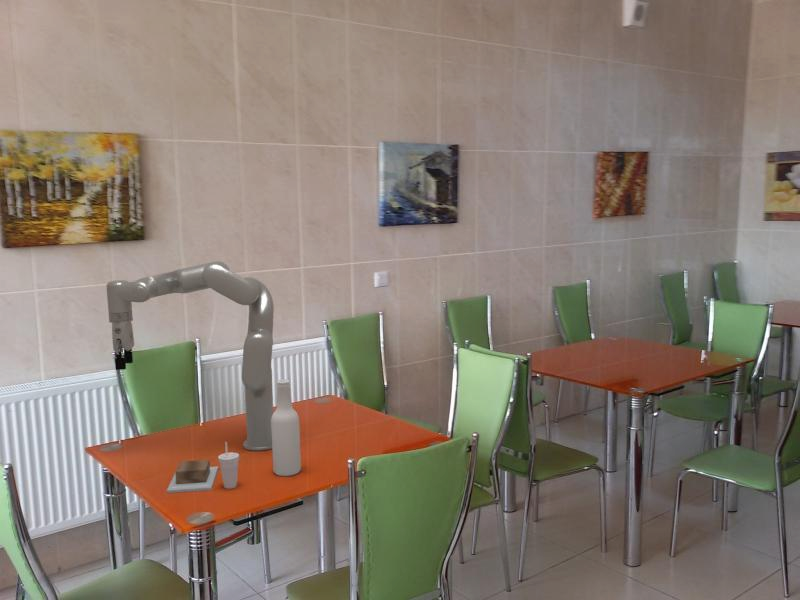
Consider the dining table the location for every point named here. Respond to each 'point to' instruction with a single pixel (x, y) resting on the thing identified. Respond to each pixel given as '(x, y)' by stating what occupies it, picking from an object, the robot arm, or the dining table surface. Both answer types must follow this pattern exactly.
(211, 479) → the base
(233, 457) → the smoothie
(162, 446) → the dining table surface
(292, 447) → the alcohol
